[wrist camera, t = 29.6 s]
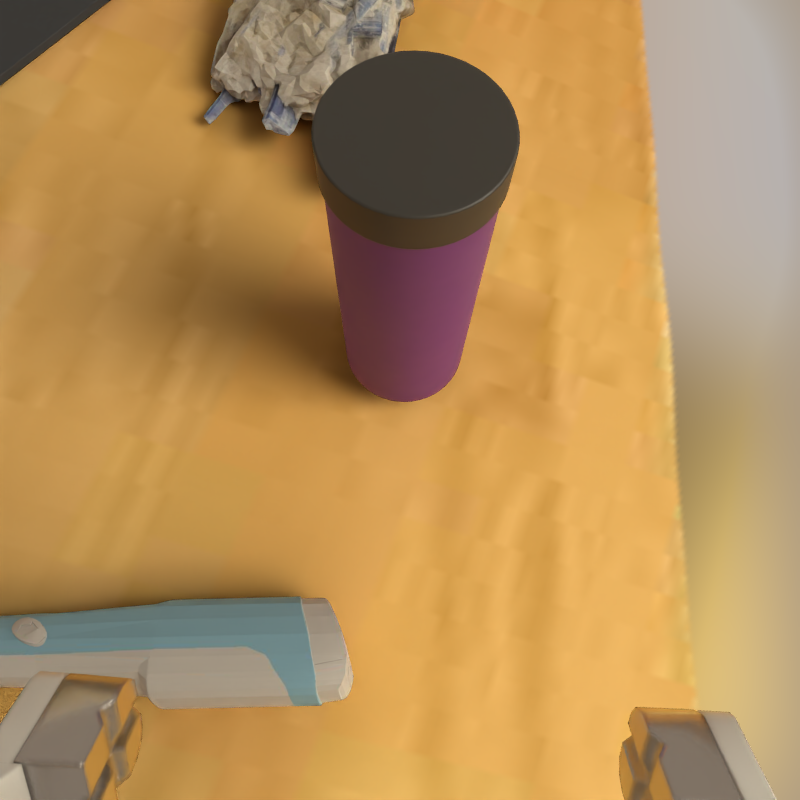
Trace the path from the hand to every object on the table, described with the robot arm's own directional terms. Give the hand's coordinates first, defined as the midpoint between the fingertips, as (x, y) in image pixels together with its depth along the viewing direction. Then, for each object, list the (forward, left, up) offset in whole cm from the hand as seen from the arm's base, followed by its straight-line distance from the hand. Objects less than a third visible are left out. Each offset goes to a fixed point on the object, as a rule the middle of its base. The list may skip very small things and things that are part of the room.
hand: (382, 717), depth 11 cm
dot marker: (+9, +7, -11) cm, 16 cm away
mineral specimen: (+19, +18, -12) cm, 29 cm away
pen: (-6, +8, -12) cm, 15 cm away
